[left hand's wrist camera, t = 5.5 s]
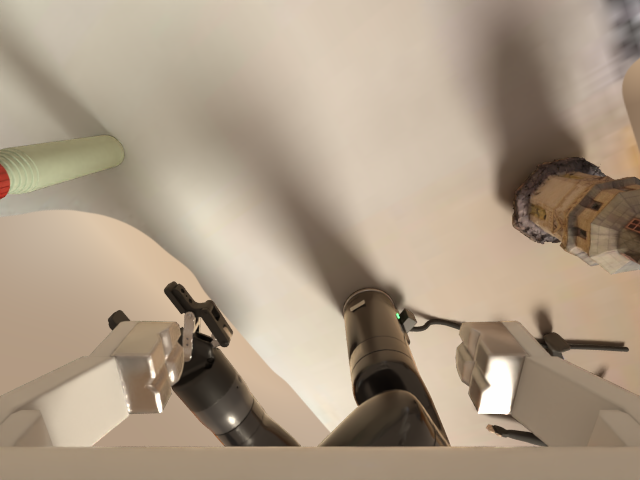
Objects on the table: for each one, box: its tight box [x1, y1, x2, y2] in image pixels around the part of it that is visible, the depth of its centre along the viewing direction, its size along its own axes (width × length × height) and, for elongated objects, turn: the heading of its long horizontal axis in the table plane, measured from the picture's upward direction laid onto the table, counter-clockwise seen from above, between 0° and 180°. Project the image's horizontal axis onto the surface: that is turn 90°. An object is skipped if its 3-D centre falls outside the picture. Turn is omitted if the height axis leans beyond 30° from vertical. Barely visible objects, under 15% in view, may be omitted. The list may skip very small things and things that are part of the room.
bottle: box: [0, 135, 124, 194], centre depth 45 cm, size 5×5×23 cm
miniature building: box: [512, 157, 640, 274], centre depth 44 cm, size 13×14×30 cm
